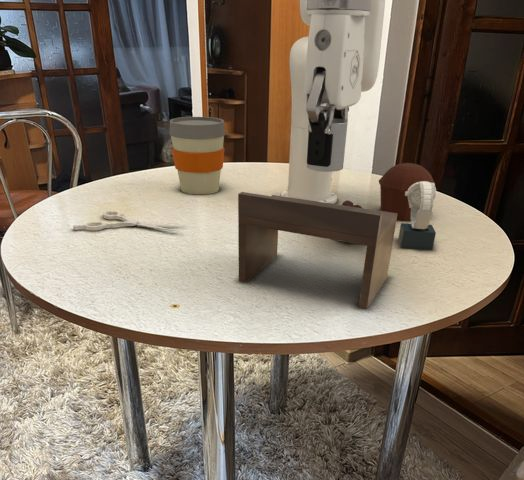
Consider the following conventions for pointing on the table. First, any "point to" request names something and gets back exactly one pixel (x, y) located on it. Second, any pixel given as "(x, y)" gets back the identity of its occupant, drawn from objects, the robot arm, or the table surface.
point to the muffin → (400, 188)
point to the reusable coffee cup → (198, 152)
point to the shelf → (313, 233)
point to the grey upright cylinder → (335, 147)
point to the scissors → (119, 223)
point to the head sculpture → (419, 217)
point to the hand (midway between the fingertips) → (325, 159)
